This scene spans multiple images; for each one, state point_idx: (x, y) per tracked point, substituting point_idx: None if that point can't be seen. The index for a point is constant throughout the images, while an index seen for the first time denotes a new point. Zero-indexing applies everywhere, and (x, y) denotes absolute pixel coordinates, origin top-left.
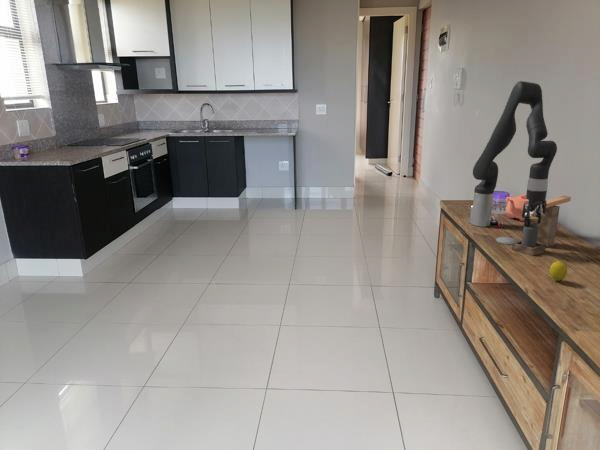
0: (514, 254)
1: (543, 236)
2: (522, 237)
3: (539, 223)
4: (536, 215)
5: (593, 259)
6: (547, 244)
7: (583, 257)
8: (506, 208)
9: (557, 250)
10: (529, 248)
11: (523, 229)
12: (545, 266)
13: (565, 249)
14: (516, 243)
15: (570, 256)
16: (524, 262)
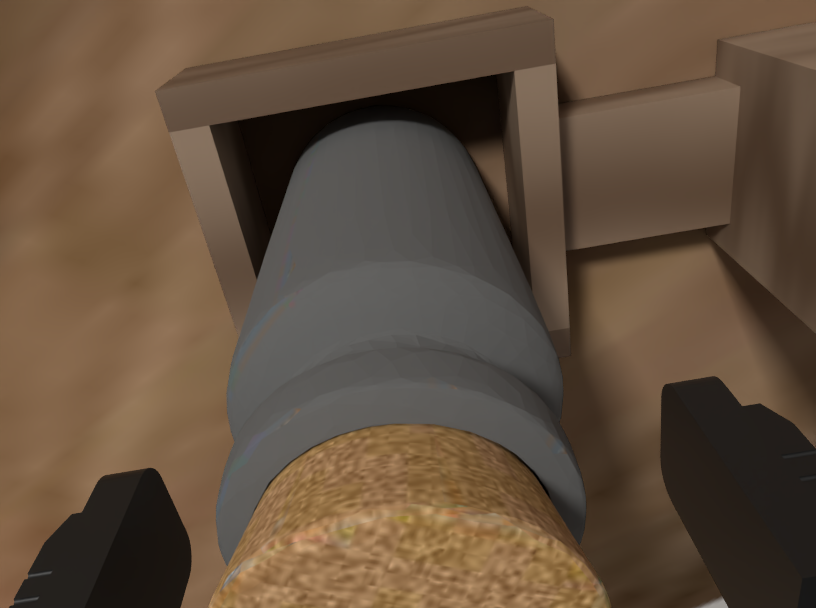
0: (84, 230)
1: (792, 229)
2: (281, 219)
3: (668, 488)
4: (795, 587)
5: (703, 601)
6: (733, 250)
7: (688, 552)
8: None
9: (700, 351)
10: None
11: (261, 293)
12: None
13: (808, 365)
14: (232, 118)
15: (617, 501)
16: (24, 443)
